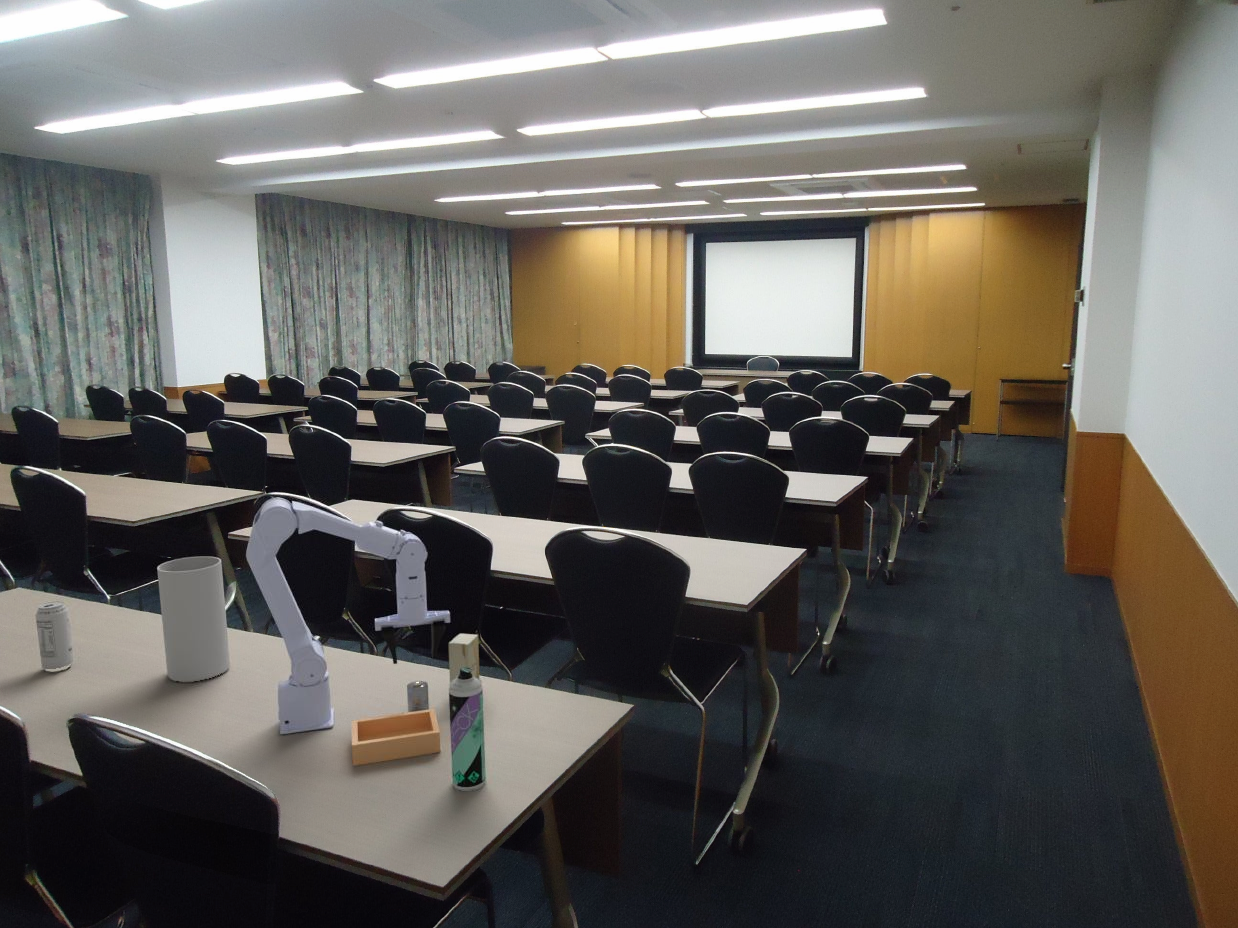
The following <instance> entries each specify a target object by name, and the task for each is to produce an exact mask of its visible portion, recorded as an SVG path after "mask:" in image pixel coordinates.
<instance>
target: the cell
mask: <svg viewBox="0 0 1238 928" xmlns="http://www.w3.org/2000/svg"><path fill="white" fill-rule="evenodd" d="M406 691H407V693H406V694H407V696H406V697H407V712H415V711H422V710H429V709H430V707H429V705H430V702H429V684H428V682H427V681H423V680H415V681H412V682H409V683H408V684H406Z"/></svg>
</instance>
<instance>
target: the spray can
mask: <svg viewBox="0 0 1238 928" xmlns="http://www.w3.org/2000/svg"><path fill="white" fill-rule="evenodd" d="M482 682H483V681H482V680H481V679H480V677H479V678H476V677H474V675H473V674H472V673H471V671H470V668H467V667H464V668H461V669H460V674H459V675H458V676H457V678H456V679H454V680H453V681H451V682H450V681H449V684H448V685H449V686H448V701H449V704H448V705H449V726H450V727H449V728H450V730H449V731H450V748H451V749H450V752H451V773H452V774H451V775H452V786H453V788H454V789H455V790H457V791H460V790H461V791H460V792H472V790H473V791H476V790H479V789H480V788H482V787H484V786H485V784H486V780H487V777H486V776H487V774H486V750H485V749H486V748H485V747H486V746H485V721H484V720H485V717H484V693H483V692H484V691H483V689H484V688H483V687H484V686H483V683H482ZM463 790H464V791H463Z"/></svg>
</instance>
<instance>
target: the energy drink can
mask: <svg viewBox="0 0 1238 928" xmlns="http://www.w3.org/2000/svg"><path fill="white" fill-rule="evenodd" d="M35 620H36V629H37V630H36V631H37V638H38V645H39V655H40V664H41V668H42V669H43V668H44V669H43V670H45V669H56V668H61V667H64V666H67V665H69V664H71V663H72V662H73V663H74V662H75V659H74V651H73V650H74V649H73V643H72V634H71V626H70V617H69V609H68V608H67V606H66V605H65V603H64V601H50V602H44V603H42V604H39V605H38V607H37V611H36V613H35ZM73 663H72V664H73ZM72 664H71V665H72Z"/></svg>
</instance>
